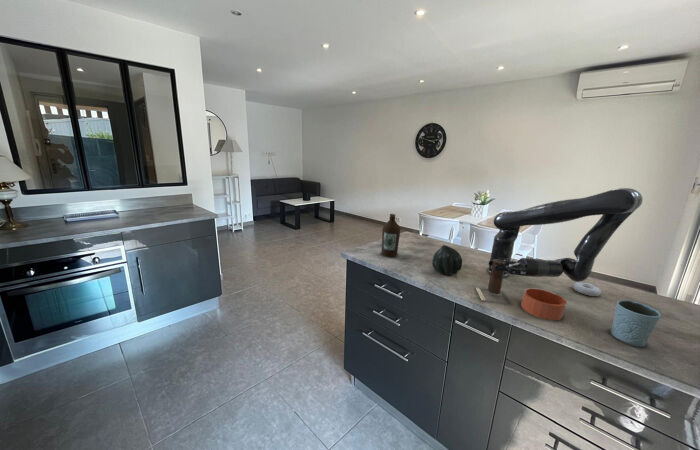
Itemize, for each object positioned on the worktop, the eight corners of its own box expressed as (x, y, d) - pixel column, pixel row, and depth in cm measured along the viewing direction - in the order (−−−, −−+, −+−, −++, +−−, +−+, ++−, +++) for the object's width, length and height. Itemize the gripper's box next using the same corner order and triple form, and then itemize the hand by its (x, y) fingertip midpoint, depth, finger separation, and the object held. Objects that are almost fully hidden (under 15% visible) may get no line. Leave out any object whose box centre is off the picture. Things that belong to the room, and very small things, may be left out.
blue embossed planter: (636, 333, 93) (647, 303, 90) (657, 352, 84) (670, 319, 81) (601, 326, 97) (610, 297, 94) (617, 344, 87) (628, 312, 84)
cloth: (475, 288, 122) (476, 287, 122) (501, 292, 119) (502, 291, 119) (481, 300, 111) (481, 299, 111) (510, 304, 109) (510, 303, 109)
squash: (473, 267, 132) (459, 240, 138) (450, 272, 126) (438, 244, 131) (454, 275, 144) (443, 250, 149) (433, 281, 137) (422, 254, 143)
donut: (599, 292, 124) (571, 284, 130) (601, 285, 123) (573, 278, 129) (600, 300, 116) (571, 292, 122) (603, 293, 115) (574, 285, 121)
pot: (515, 299, 113) (518, 285, 112) (551, 304, 110) (555, 290, 109) (528, 317, 100) (532, 302, 99) (569, 323, 98) (574, 308, 96)
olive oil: (382, 250, 167) (385, 211, 160) (398, 252, 164) (402, 213, 158) (379, 256, 157) (382, 215, 150) (397, 258, 154) (401, 216, 148)
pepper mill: (486, 288, 117) (491, 258, 114) (498, 289, 116) (503, 259, 113) (489, 293, 113) (494, 262, 109) (501, 294, 112) (507, 264, 108)
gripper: (524, 253, 117) (485, 251, 118) (546, 265, 103) (502, 263, 104) (521, 268, 119) (483, 267, 120) (542, 283, 105) (498, 281, 106)
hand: (492, 265), depth 112 cm, fingers closed on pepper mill, 5 cm apart
